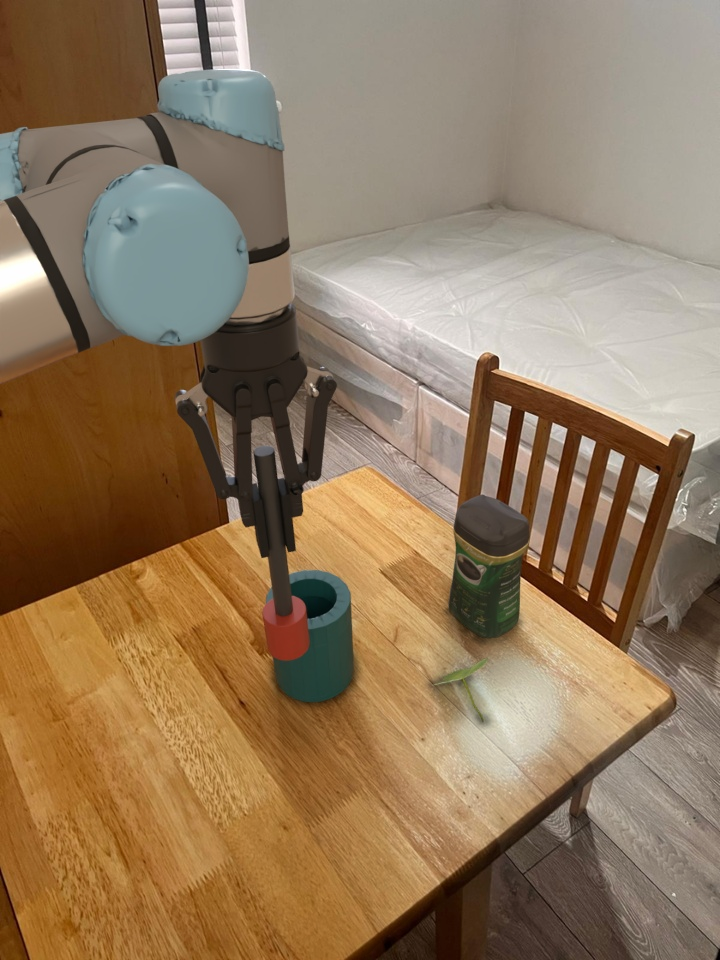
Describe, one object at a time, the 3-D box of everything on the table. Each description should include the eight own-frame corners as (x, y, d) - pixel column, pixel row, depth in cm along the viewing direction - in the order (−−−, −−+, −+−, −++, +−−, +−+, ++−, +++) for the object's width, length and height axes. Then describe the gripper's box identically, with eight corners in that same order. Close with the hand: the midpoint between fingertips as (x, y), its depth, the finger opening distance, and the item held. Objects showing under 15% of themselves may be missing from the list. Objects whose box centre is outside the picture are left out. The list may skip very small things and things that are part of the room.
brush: (271, 665, 74) (242, 469, 60) (263, 634, 77) (234, 442, 64) (313, 654, 75) (294, 459, 61) (304, 624, 78) (283, 433, 65)
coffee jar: (528, 622, 101) (544, 516, 91) (487, 649, 98) (499, 542, 87) (478, 584, 108) (488, 482, 97) (438, 608, 104) (444, 504, 93)
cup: (285, 711, 90) (275, 638, 83) (268, 651, 98) (258, 580, 91) (363, 690, 93) (361, 617, 85) (341, 633, 101) (337, 562, 93)
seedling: (463, 729, 93) (443, 679, 95) (518, 706, 90) (495, 656, 92) (441, 738, 87) (419, 685, 89) (498, 715, 84) (475, 660, 86)
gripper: (328, 276, 59) (341, 507, 73) (142, 301, 56) (192, 537, 70) (354, 309, 54) (363, 553, 67) (147, 339, 50) (201, 589, 64)
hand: (276, 545), depth 68 cm, fingers closed on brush, 2 cm apart
